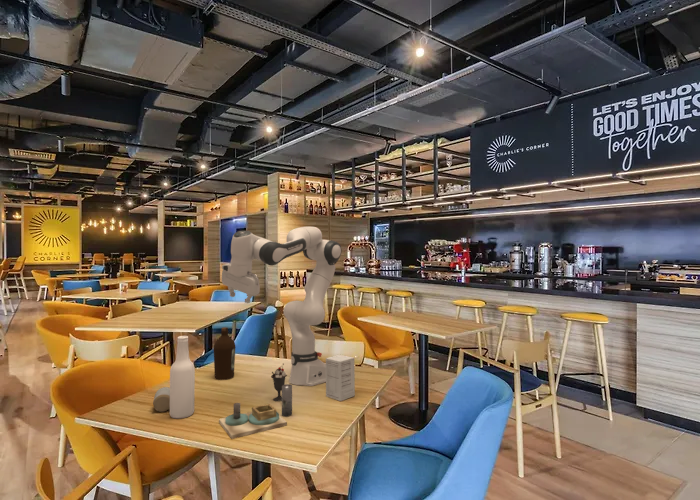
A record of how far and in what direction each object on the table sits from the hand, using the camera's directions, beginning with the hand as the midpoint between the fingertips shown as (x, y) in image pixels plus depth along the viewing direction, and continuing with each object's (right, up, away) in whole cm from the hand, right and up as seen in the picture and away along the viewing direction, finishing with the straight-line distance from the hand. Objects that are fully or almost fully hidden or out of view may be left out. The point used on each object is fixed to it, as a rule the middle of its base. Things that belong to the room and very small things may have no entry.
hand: (239, 299), depth 170 cm
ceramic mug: (-26, -43, -12) cm, 51 cm away
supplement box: (+43, -43, +2) cm, 61 cm away
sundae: (+17, -43, -1) cm, 46 cm away
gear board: (+12, -42, -26) cm, 51 cm away
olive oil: (-16, -43, +29) cm, 55 cm away
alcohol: (-17, -42, -18) cm, 49 cm away
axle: (+23, -42, -18) cm, 51 cm away
